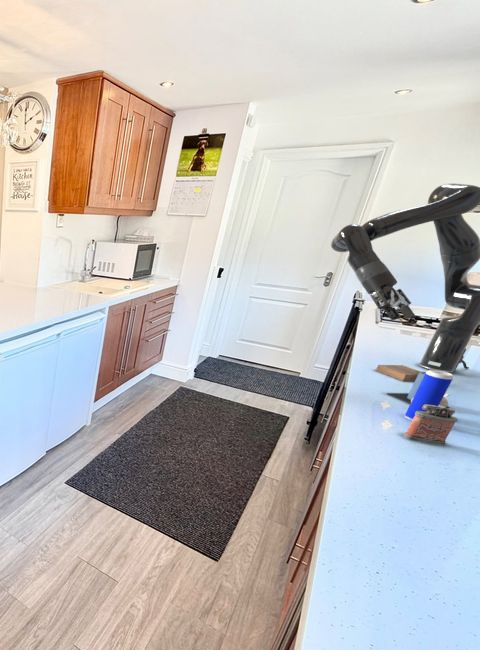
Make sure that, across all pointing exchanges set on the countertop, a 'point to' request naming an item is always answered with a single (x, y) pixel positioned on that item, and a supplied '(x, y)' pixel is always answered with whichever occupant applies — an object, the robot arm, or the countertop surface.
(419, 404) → the beverage can
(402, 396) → the mat
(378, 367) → the platform
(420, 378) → the post
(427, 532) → the countertop surface
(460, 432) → the countertop surface
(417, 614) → the countertop surface
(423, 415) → the lighter
